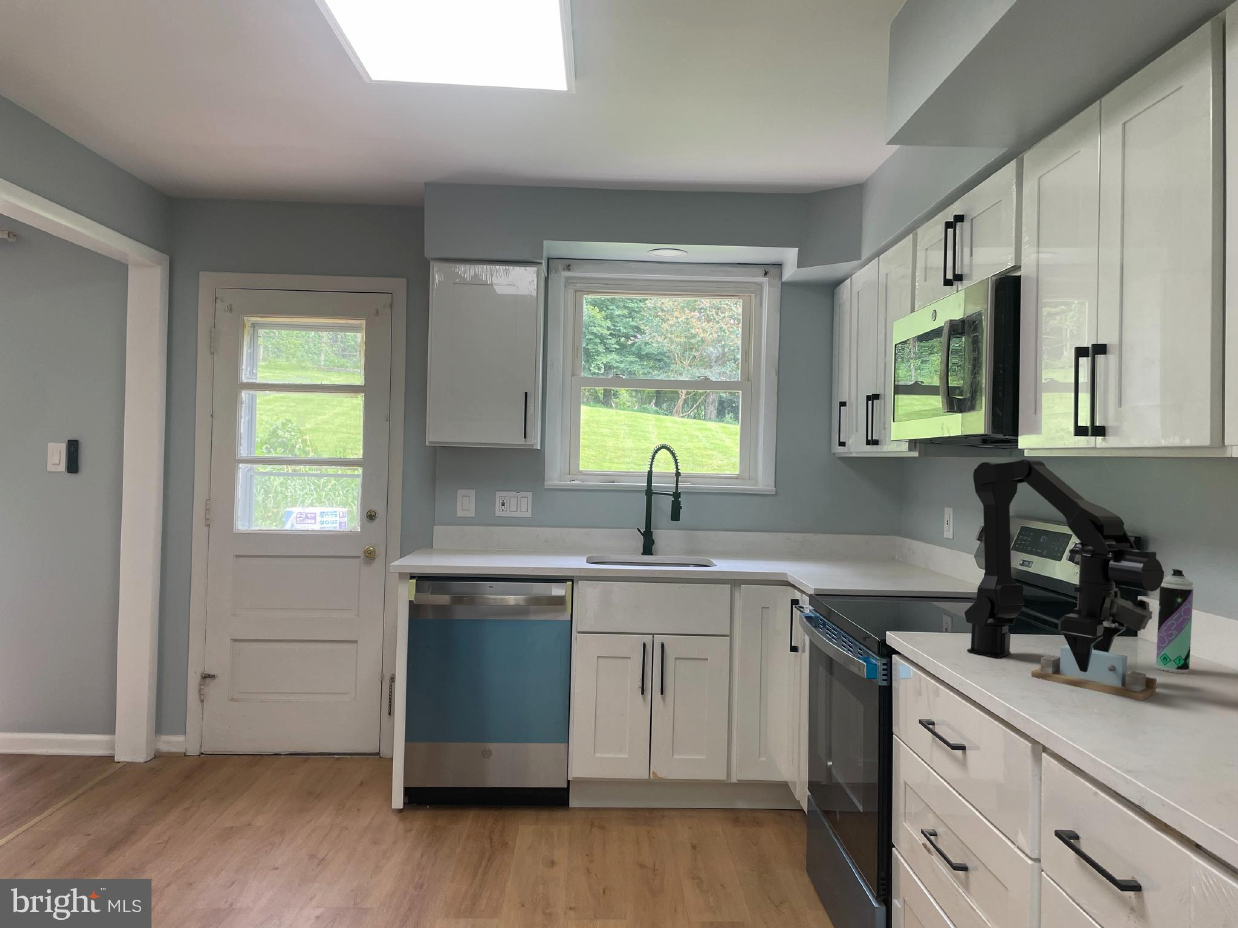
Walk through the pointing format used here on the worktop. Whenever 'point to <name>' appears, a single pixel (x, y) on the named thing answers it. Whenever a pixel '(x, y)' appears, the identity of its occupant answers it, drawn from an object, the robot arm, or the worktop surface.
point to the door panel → (1096, 667)
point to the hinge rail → (1134, 687)
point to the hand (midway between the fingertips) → (1092, 667)
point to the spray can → (1174, 623)
